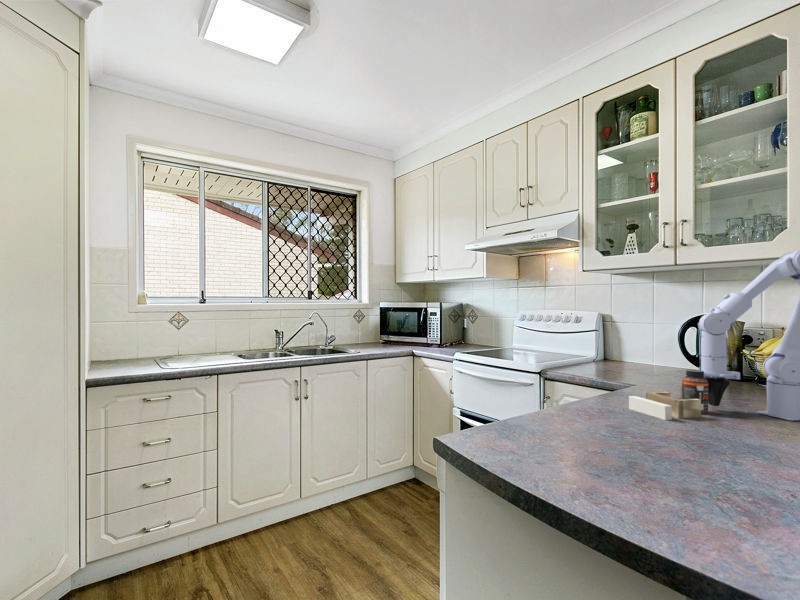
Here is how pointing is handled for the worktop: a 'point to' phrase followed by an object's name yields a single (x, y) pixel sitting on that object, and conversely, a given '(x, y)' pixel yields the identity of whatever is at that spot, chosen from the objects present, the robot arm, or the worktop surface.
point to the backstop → (650, 407)
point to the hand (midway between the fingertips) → (713, 405)
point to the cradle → (677, 404)
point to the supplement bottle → (696, 388)
